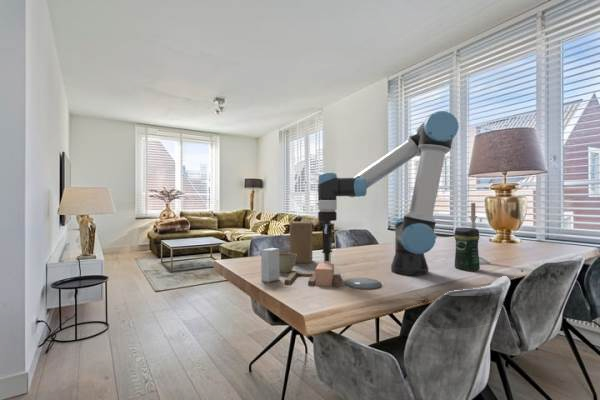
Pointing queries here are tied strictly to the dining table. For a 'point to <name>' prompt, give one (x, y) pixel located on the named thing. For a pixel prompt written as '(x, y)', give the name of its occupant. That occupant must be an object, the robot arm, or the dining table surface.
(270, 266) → the skincare box
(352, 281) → the plate
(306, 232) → the wooden block
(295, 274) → the rack
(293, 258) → the flower pot
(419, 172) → the robot arm
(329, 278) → the block
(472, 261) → the coffee jar
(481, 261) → the candlestick
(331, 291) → the dining table surface
